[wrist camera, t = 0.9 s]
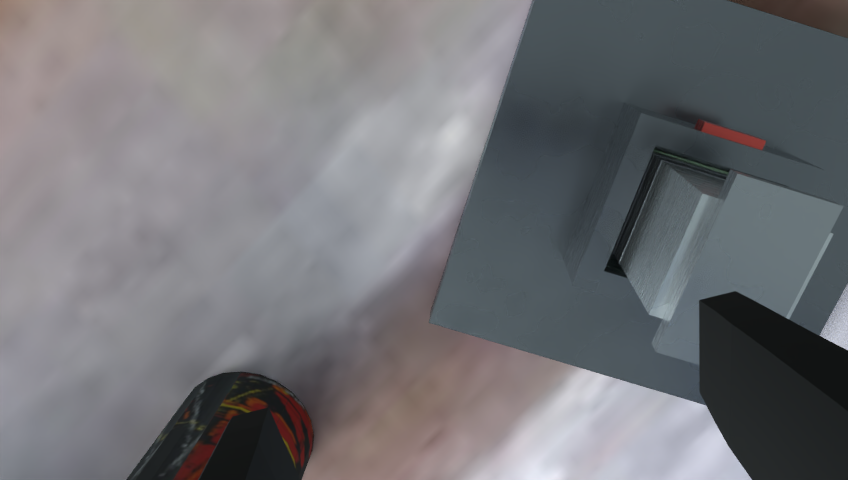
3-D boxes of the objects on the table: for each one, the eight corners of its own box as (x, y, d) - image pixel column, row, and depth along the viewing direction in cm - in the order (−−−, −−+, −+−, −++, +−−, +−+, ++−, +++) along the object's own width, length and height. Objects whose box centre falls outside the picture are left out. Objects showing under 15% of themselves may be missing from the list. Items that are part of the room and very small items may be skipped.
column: (753, 155, 24) (860, 211, 17) (692, 287, 26) (768, 385, 19) (651, 123, 24) (720, 168, 17) (596, 259, 25) (640, 347, 19)
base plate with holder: (941, 71, 24) (1017, 81, 20) (761, 410, 28) (799, 464, 25) (549, -52, 23) (562, -62, 20) (430, 311, 28) (424, 353, 24)
